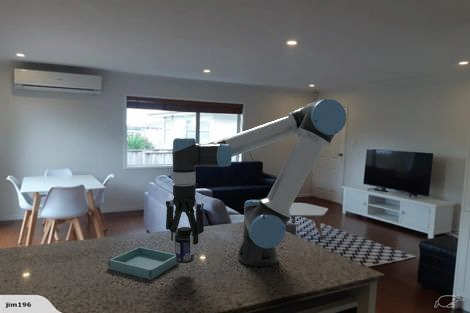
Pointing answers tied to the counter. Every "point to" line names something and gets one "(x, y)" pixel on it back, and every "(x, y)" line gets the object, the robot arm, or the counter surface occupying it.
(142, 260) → the tray
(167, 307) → the counter surface
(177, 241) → the pill bottle
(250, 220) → the robot arm
